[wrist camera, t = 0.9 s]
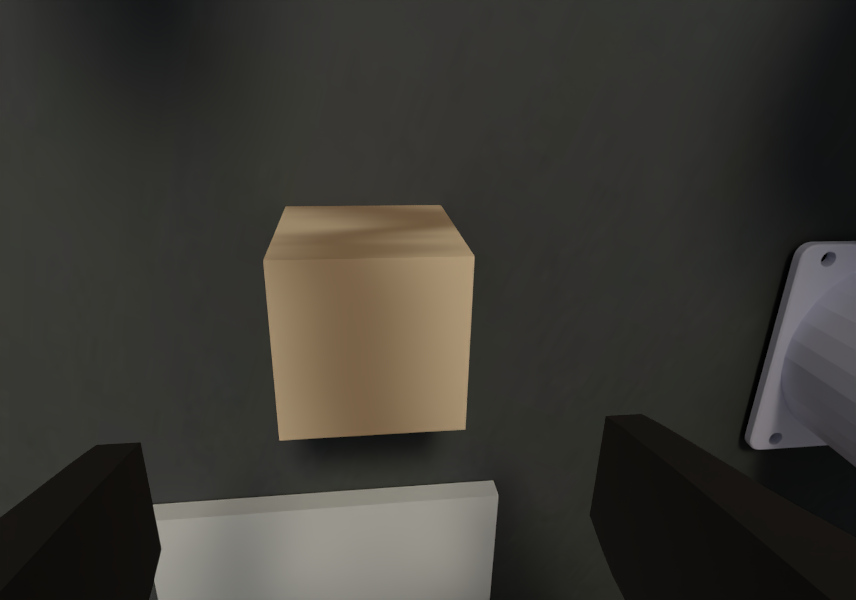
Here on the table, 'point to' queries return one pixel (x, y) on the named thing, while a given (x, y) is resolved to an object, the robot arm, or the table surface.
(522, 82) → the table surface
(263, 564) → the pad
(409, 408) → the birch block
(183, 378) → the table surface
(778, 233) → the table surface
